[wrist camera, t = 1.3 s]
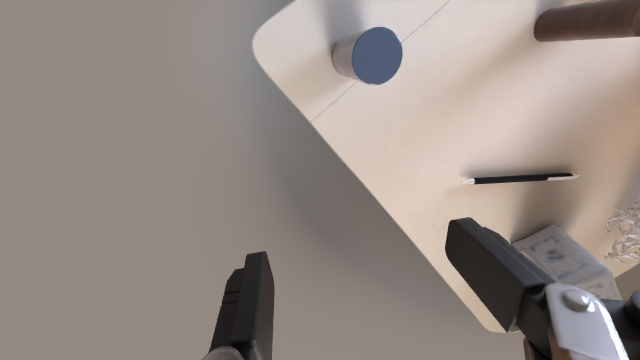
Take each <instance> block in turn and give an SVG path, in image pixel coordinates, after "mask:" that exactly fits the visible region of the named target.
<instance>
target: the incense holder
mask: <svg viewBox="0 0 640 360" xmlns="http://www.w3.org/2000/svg"><path fill="white" fill-rule="evenodd" d="M510 245H513V246H514V247H515V248H516V249H517V250H518V252H521V253H522V254H523V255H525V256H526V257H527V258H528V259H529V260H531V261H532V262H533V263H534V264H536V265H537V266H538V267H539V268H540V269H542V270H543V271H544V272H545V273H546V274H548V275H549V276H550V277H551V278H552V279H554V280H555V281H556V282H562V283H568V284H572V285H575V286H578V287H580V288H582V289H585V290H586V291H588V292H590V293H591V294H593V295H594V296H596V297H597V298H600V299H610V300H620V301H622V298H621V296H620V294H619V292H618V289H617V287H616V283H615V279H614V277H613V275H612V272H611V271H610V269H608V268H607V267H606V266H605V265H604V264H602V263H601V262H600V261H599V260H597V259H596V258H595V257H594V256H593V255H592V254H590V253H589V252H588V251H587V250H585V249H584V248H583V247H582V246H580V245H579V244H578V243H577V242H576V241H574V240H573V239H572V238H571V237H570V236H569V235H567V234H566V233H565V232H564V231H563V230H561V229H560V228H559V227H557V226H555V225H551V226H549V227H547V228H544V229H543V230H541V231H539V232H537V233H535V234H533V235H531V236H529V237H527V238H525V239H522V240H519V241H517V242H515V243H512V244H510Z"/></svg>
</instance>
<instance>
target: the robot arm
mask: <svg viewBox="0 0 640 360" xmlns="http://www.w3.org/2000/svg"><path fill="white" fill-rule="evenodd" d="M445 251H446V255H447V258H448V259H449V261H450V262H451V264H452V265H453V266H454V267H455V269H456V270H457V271H458V272H459V274H460V275H461V276H462V277H463V279H464V280H465V281H466V282H467V284H468V285H469V286H470V287H471V289H472V290H473V291H474V292H475V293H476V295H477V296H478V297H479V298H480V300H481V301H482V302H483V303H484V305H485V306H486V307H487V308H488V310H489V311H490V312H491V313H492V315H493V316H494V317H495V318H496V320H497V321H498V322H499V323H500V324H501V326H502V327H503V328H504V329H505V331H506V332H507V333H509V332H514V331H519V330H521V331H522V333H523V334H524V335H525V338H524V350H525V359H526V360H640V290H638V291H635V292H633V294H632V295H631V296H630V298H629V299H628V301H620V300H610V299H600V298H597V297H596V296H594V295H593V294H591V293H590V292H588V291H586V290H585V289H582V288H580V287H578V286H575V285H572V284H568V283H562V282H556V281H555V280H554V279H552V278H551V277H550V276H549V275H548V274H546V273H545V272H544V271H543V270H542V269H540V268H539V267H538V266H537V265H536V264H534V263H533V262H532V261H531V260H529V259H528V258H527V257H526V256H525V255H523V254H522V253H521V252H518V250H517V249H516V248H515V247H514V246H513V245H510V244H509V242H508V241H507V240H505V239H504V238H503V237H502V236H501V235H499V234H498V233H496V232H494V231H492V230H490V229H488V228H486V227H481V226H480V225H479V224H478V223H477V222H476V221H474V220H473V219H472V218H469V217H467V218H461V219H456V220H451V221H450V222H449V226H448V232H447V239H446V245H445ZM273 316H274V280H273V275H272V272H271V268H270V264H269V260H268V257H267V254H266V252H265V251H264V252H258V253H252V254H247V256H246V260H245V266H244V268H241V269H235V271H234V272H233V273H232V275H231V276H230V278H229V279H228V280H227V284H226V288H225V292H224V296H223V300H222V306H221V308H220V312H219V316H218V319H217V324H216V327H215V332H214V335H213V339H212V343H211V347H210V350H209V352H208V354H207V355H206V356H205V357H204V358H203V359H202V360H272V340H273Z"/></svg>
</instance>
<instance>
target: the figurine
mask: <svg viewBox="0 0 640 360" xmlns="http://www.w3.org/2000/svg"><path fill="white" fill-rule="evenodd" d="M615 209H616V210H617V212H618V213H620V215H621V217H612V218H610V219H609V220H608V221H607V223H606V226H607V229H608V231H609V232H610V230H609V228H608V223H609V222H610V221H611V220H616V224H617V227H618V229H619V231H620V233H621V234H622V235H621V236H620V238H619V241H620V242H618V241H617V240H615V241H614V243H613V245H612V250H613V253H608V255H609V256H610V257H611V259H615V260H619V259H617V257H627V258H630V259H633V260H635V261H637V262H640V261H638V260H636V259H639V258H638V257H640V255H638V254H637V252H639V253H640V248H639V251H636V252H634V253H635V254H636V255H635V254H633V253H627V250H626V249H630V248H633V247H640V200H638V201H636V202H635V203H634V204H633V205H631V206H630V207H629V208H628V210H629V213H630V214H631V215H632V216H631V215H628V214H626V213H624V212H623V211H621V210H619V209H617V208H615ZM617 220H621V223H620V227H619V225H618V222H617ZM628 222H629V228H630V230H629V231H624V230H623V229H622V226H623V224H625V223H628ZM631 222H632V223H634V228H633V226H632V224H631ZM624 237H628V238H627V239H626V240H625V241H622V239H623V238H624ZM631 243H632V245H630V246H629V247H627V246H628V245H629V244H631ZM620 245H622V250H623V252H622V251H620V253H619V254H620V255H618V253H617V250H616V248H617V247H618V246H620ZM626 247H627V248H626ZM631 255H632V256H633V257H635V256H636V257H635V258H632V257H629V256H631ZM604 257H605V259H607V258H610V257H608V256H606V255H604ZM607 260H608V259H607ZM619 261H621V260H619ZM621 262H622V263H623V264H628V263H624V262H623V261H621Z"/></svg>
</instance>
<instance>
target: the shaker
mask: <svg viewBox="0 0 640 360" xmlns="http://www.w3.org/2000/svg"><path fill="white" fill-rule="evenodd" d="M401 61H402V46H401V42H400V40H399V38H398V37H397V35H396V34H395V33H394V32H393V31H392V30H390V29H388V28H385V27H374V28H371V29H368V30H365V31H362V32H359V33H355V34H352V35H349V36H346V37H344V38H342V39H340V40H339V41H338V42H337V44H336V45H335V47H334V49H333V53H332V62H333V66H334V68H335V69H336V71H337V72H338V73H339V74H341V75H342V76H345V77H348V78H351V79H354V80H357V81H360V82H363V83H366V84H369V85H380V84H383V83H385V82H387V81H388V80H390V79H391V78H392V77H393V76H394V75H395V74H396V72H397V71H398V69H399V67H400V64H401Z"/></svg>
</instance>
